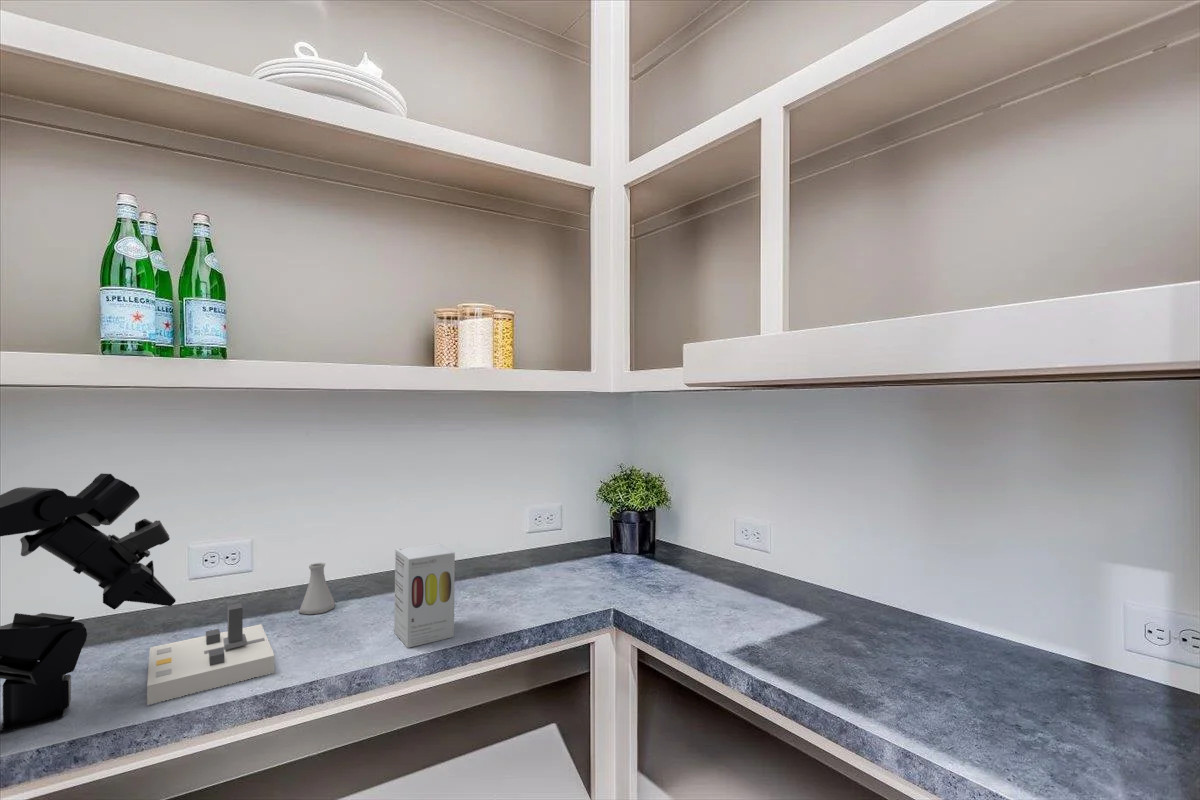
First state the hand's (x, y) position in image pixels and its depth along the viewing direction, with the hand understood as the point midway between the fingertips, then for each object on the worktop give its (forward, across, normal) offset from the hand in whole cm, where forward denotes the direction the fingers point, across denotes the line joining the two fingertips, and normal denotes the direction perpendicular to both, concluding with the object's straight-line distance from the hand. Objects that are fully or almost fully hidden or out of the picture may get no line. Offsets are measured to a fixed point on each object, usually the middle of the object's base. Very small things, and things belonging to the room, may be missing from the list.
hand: (173, 603), depth 96 cm
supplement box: (+37, -10, -19) cm, 43 cm away
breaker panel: (+12, -1, +5) cm, 13 cm away
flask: (+27, +18, -10) cm, 34 cm away
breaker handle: (+13, -1, 0) cm, 13 cm away
